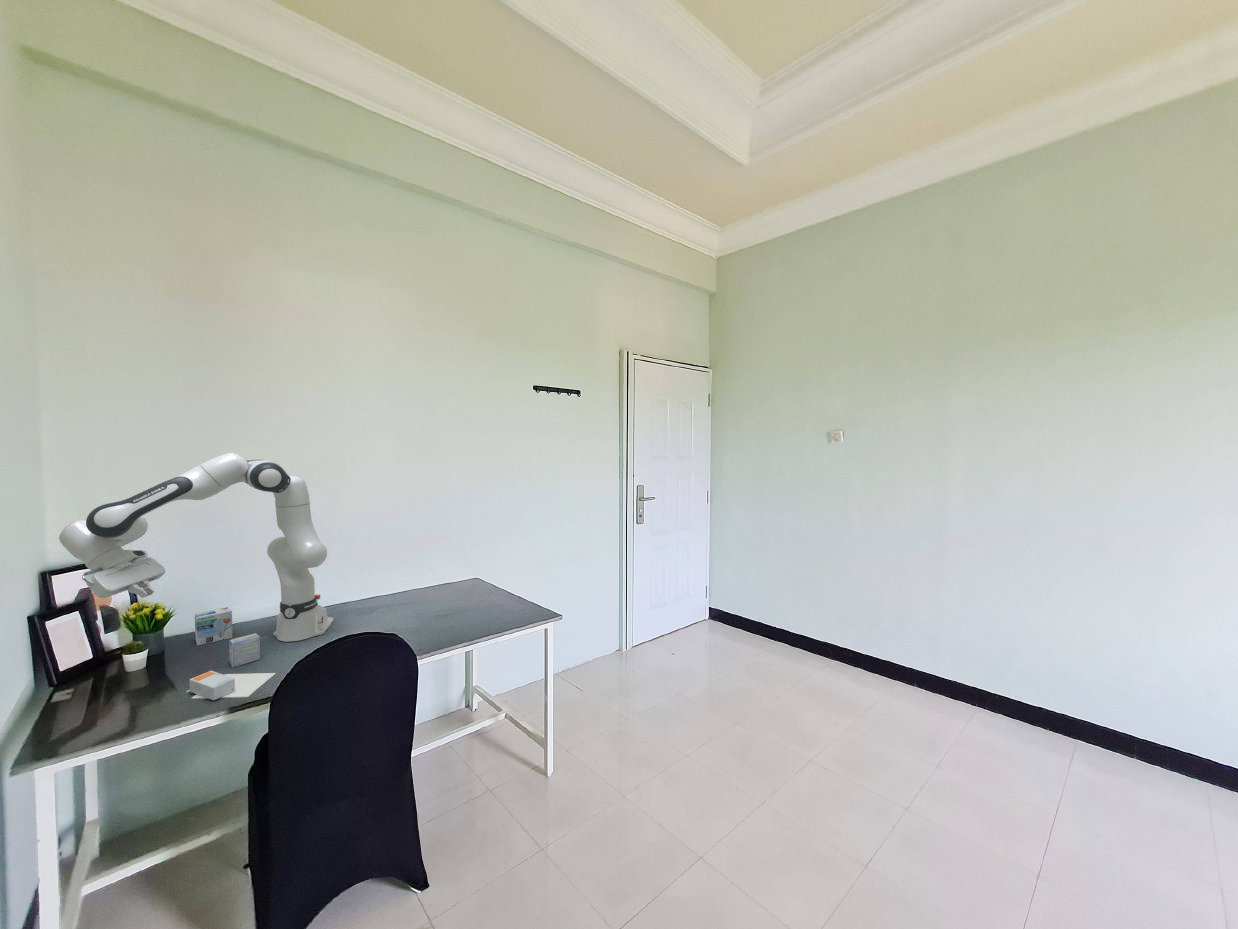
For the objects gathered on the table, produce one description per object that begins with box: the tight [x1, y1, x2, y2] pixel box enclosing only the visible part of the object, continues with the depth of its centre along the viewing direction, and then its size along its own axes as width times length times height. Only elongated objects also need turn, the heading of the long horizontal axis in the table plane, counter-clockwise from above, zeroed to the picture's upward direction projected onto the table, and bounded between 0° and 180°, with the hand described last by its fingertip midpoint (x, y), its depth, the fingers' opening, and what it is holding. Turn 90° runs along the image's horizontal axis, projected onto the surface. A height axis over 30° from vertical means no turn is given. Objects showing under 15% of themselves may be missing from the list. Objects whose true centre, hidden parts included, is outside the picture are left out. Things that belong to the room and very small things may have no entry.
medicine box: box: [228, 632, 261, 668], centre depth 166 cm, size 8×4×9 cm, turn 141°
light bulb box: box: [194, 606, 233, 646], centre depth 182 cm, size 11×7×11 cm, turn 137°
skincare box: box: [189, 670, 235, 701], centre depth 147 cm, size 6×4×12 cm
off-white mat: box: [191, 672, 277, 700], centre depth 151 cm, size 14×16×1 cm
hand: (148, 594), depth 148 cm, fingers closed
